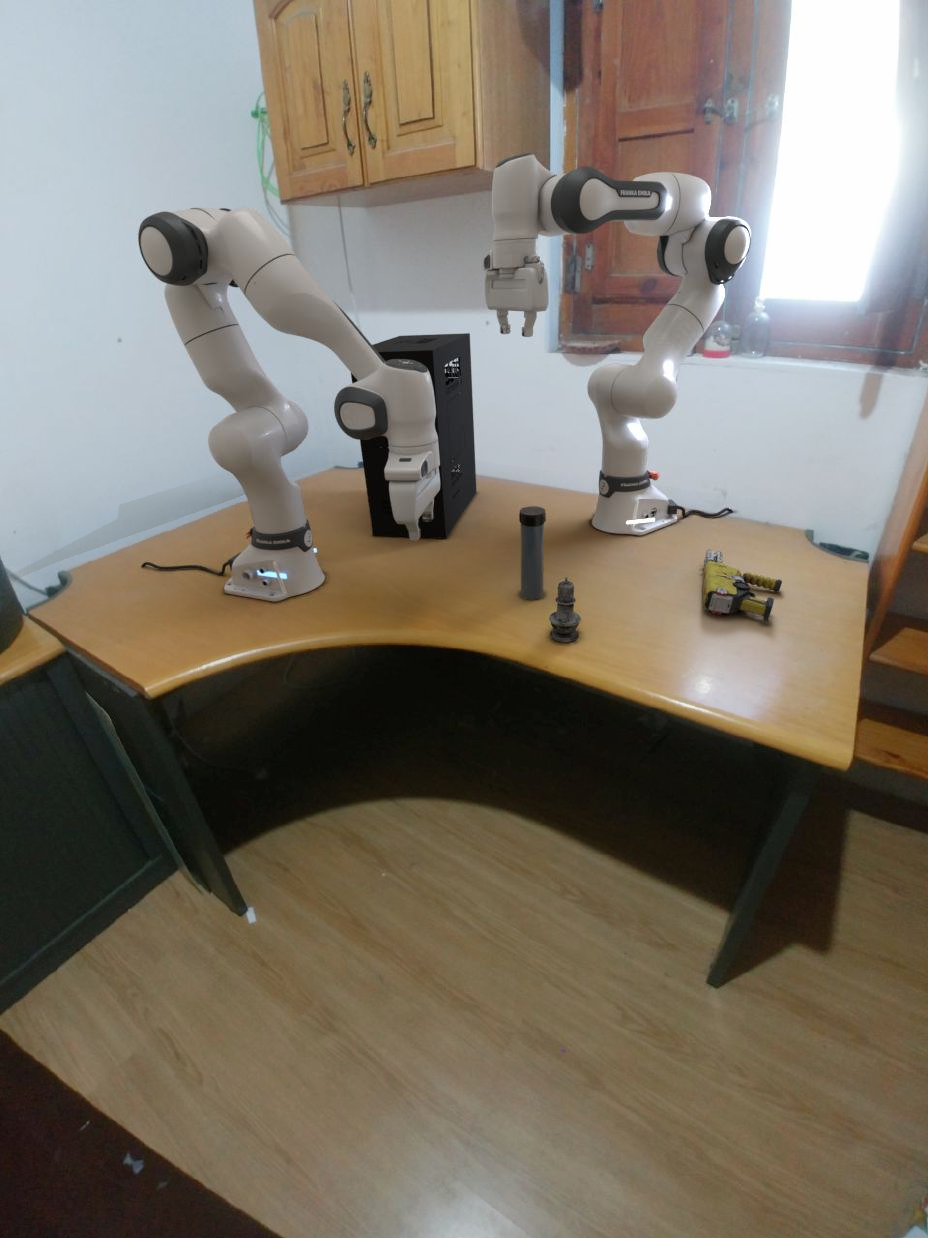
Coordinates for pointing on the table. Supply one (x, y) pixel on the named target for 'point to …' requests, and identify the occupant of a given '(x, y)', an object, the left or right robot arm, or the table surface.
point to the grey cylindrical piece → (532, 561)
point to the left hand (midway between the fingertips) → (422, 529)
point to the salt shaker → (565, 614)
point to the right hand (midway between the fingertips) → (516, 335)
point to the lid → (532, 516)
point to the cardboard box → (450, 428)
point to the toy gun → (734, 588)
